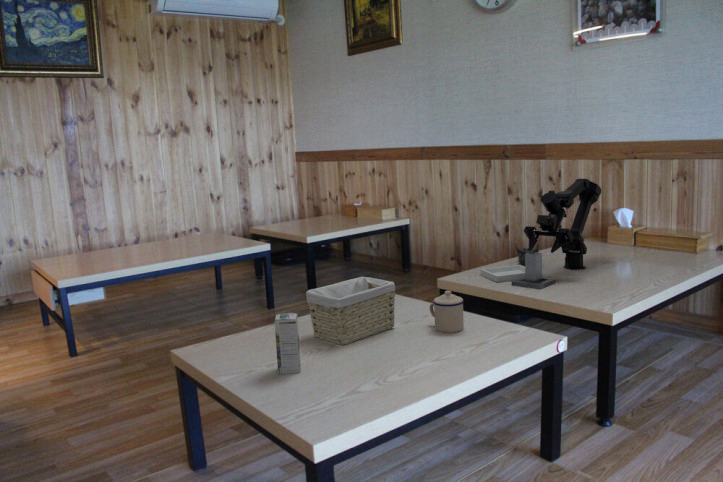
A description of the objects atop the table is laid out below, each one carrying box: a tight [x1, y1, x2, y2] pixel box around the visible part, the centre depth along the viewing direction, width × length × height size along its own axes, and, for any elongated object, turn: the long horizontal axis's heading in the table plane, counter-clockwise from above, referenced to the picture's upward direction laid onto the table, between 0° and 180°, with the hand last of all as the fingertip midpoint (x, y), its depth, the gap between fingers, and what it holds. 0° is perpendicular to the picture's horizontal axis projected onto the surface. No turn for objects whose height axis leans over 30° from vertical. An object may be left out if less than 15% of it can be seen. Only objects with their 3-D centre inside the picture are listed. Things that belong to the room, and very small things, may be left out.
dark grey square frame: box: [511, 276, 557, 290], centre depth 231 cm, size 12×12×2 cm
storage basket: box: [305, 276, 396, 346], centre depth 184 cm, size 24×16×15 cm
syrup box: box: [274, 312, 302, 375], centre depth 156 cm, size 6×6×14 cm
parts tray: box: [479, 264, 525, 283], centre depth 246 cm, size 18×15×2 cm
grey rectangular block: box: [525, 252, 543, 283], centre depth 230 cm, size 4×4×12 cm
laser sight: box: [514, 243, 540, 267], centre depth 264 cm, size 10×22×10 cm, turn 170°
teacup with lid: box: [429, 290, 465, 334], centre depth 183 cm, size 12×9×12 cm
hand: (540, 251), depth 233 cm, fingers open, 9 cm apart
